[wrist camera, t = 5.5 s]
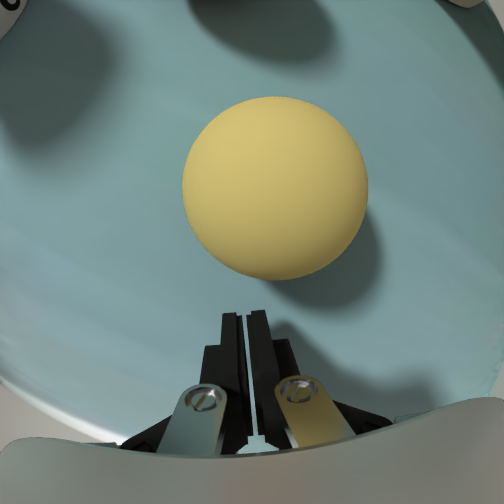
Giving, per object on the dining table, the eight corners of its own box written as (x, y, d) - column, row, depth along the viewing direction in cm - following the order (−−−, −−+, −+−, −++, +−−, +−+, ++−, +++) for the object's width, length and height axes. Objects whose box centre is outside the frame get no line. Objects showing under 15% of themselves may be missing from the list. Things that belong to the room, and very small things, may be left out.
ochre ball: (244, 39, 4) (218, 82, 9) (146, 289, 6) (165, 213, 11) (435, 162, 6) (340, 140, 11) (342, 333, 8) (286, 253, 13)
